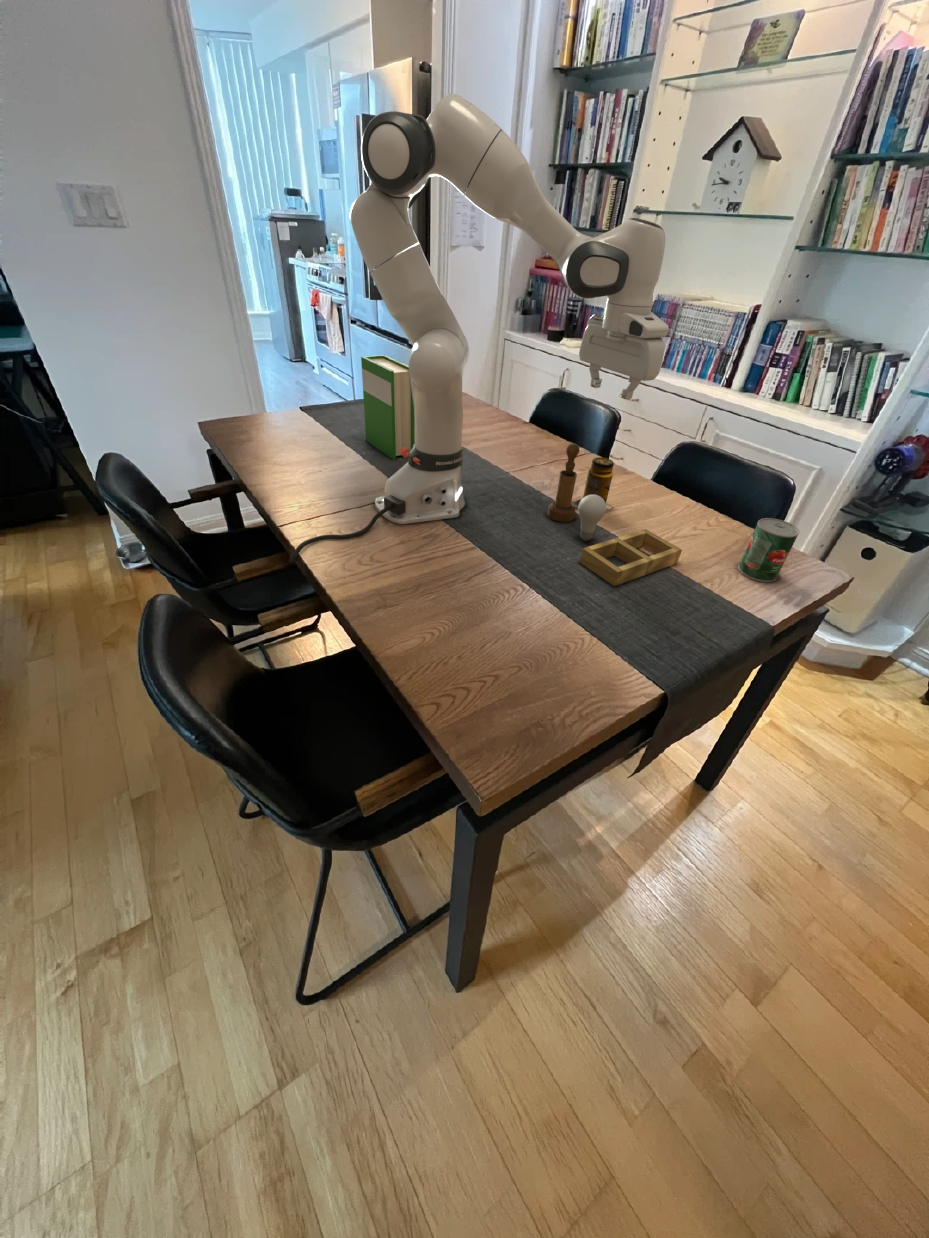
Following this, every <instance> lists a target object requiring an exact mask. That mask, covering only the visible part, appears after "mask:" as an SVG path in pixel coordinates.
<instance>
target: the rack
mask: <svg viewBox="0 0 929 1238" xmlns="http://www.w3.org/2000/svg"><path fill="white" fill-rule="evenodd" d="M641 547H643V548H644V549H646V550H648V551H649V552H651V553H652V554H653V555H652V554H651V555H649V556H648V555H647V554H645V553H643V552H642V551H640V550H639V549H638V548H641ZM682 551H683V549H682V548H680V547H678V546H676V545H674V544H673V543H671V542H670V541H668V540H666V539H664V538H662V537H660V536H659V535H658V534H655V533H654V532H652V531H651V530H648V529H647V528H645V529H642V530H638V531H635V532H632V533H628V534H625V535H622V536H619V537H615V538H612V539H609V540H605V541H602V542H598V543H595V544H593V545H589V546H586V547H583V548H582V550H581V554H580V555H581V556H580V558H579V563H580V564H581V565H583V566H584V567H585V568H587V569H588V570H590V572H593V573H594V574H596V575H597V576H598V577H600V578H601V579H602V580H604V581H606V582H607V583H608V584H610V585H612V586H613V587H616V586H617V587H618V586H619V585H622V584H625V583H627V582H631V581H633V580H636V579H638V578H641V577H644V576H646V575H649V574H652V573H655V572H658V571H660V570H663V569H666V568H668V567H671V566H674V565H676V564H678V562H679V560H680V556H681V553H682ZM611 557H616V558H617V559H619V560H620V561H622V562H624V563H625V564H623V565H620V566H617V565H616V564H614V563H612V562H611V561H610V560H608V558H611Z"/></svg>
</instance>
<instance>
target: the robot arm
mask: <svg viewBox="0 0 929 1238" xmlns="http://www.w3.org/2000/svg"><path fill="white" fill-rule="evenodd" d="M360 155H361V162H362V165H363V168H364V171H365V173H366V175H367V177H368V179H369V180H370V181H369V186H368V188H366V190H365V191H363V192H362V193H361V194H359V195H358V196H357V198H355V200H354V202H353V203H352V205H351V208H350V212H349V219H350V220H349V221H350V225H351V228H352V232H353V234H354V237H355V240H356V243H357V246H358V248H359V251H360V254H361V256H362V259H363V261H364V263H365V265H366V267H367V270H368V272H369V273H370V277H371V278H372V280H373V283H374V284H375V286H376V288H377V290H378V293H379V294H380V296H381V299H382V300H383V303H384V305H385V307H386V309H387V310H388V312H389V314H390V316H391V317H392V318H393V319H394V321H396V322H397V324H398V326H399V327H400V328H401V330H402V331H403V332H404V334H405V335H406V337H407V338H408V340H409V342H410V344H411V345H412V347H411V349H410V353H409V358H408V366H409V372H410V379H411V389H412V397H413V404H414V417H415V444H414V445H413V447H412V450H411V451H409V450H408V449H407V448H406V447H402V448H401V449H400V451H399V452H400V454H401V455H400V456H402V457H403V458H405V459H406V458H407V462H406V463H405V464H404V465H402V466H401V467H400V468H399V469H397V471H396V472H394V474H392V475H391V476H390V477H389V478H388V479H387V480H386V482H385V483H384V484H385V485H384V490H383V495H381V496H378V497H376V498H375V500H374V507H375V509H376V511H377V513H376V514H374V516H373V517H372V518H371V520H370V521H369V523H368V524H367V525H366V526H365V527H363V528H362V529H360V530H358V531H354V532H351V533H347V534H346V533H345V534H322V535H318V536H316V537H315V536H314V537H311V538H308V539H306V540H304V541H302V542H301V543H299V544H298V545H297V547H295V550H294V551H293V552H292V554H291V556H290V557H289V560H288V563H294V562H295V561H296V559H297V557H298V556H299V554H300V553H301V551H302V550H303V549H304V548H305V547H306V546H309V545H311V544H314V543H317V542H320V541H321V542H322V541H326V540H349V539H353V538H356V537H360V536H362V535H364V534H365V533H367V532H368V531H370V530H371V529H372V528H373V527H374V525H375V524H376V522H377V521H378V519H379V518H380V517H383V518H384V519H386V520H388V521H390V522H391V523H394V524H398V525H408V524H416V523H424V522H431V521H440V520H447V519H454V518H458V517H459V516H460V512H461V510H462V509H463V508H464V507H465V505H466V501H465V497H464V493H463V484H462V466H463V460H464V459H463V458H464V447H463V446H462V442H463V423H464V408H463V378H464V377H463V375H464V371H465V367H466V366H467V363H468V360H469V355H470V347H469V344H468V343H469V342H468V340H467V338H466V336H465V334H464V332H463V330H462V328H461V326H460V323H459V322H458V320H457V318H456V315H455V314H454V313H453V312H454V311H453V310H452V308H451V307H450V305H449V303H448V302H447V300H446V298H445V296H444V294H443V292H442V291H441V289H440V286H439V285H438V282H437V280H436V278H435V275H434V274H433V271H432V269H431V266H430V265H429V262H428V260H427V257H426V256H425V253H424V250H423V248H422V245H421V243H420V242H419V239H418V237H417V235H416V232H415V230H414V227H413V225H412V223H411V219H410V215H409V209H411V208H412V206H413V205H414V204H415V202H416V201H417V200H418V198H419V197H420V196H421V195H422V194H423V193H424V191H425V190H426V188H427V187H428V185H429V183H430V181H431V178H432V177H441V178H443V179H444V180H446V181H448V182H449V183H450V184H451V185H452V186H454V188H456V189H457V190H458V191H459V192H460V193H461V194H462V195H463V196H464V197H465V198H466V199H467V200H468V201H469V202H471V203H472V204H473V205H474V206H475V207H477V208H478V209H480V210H481V211H482V212H484V213H485V214H487V215H488V216H490V217H491V218H493V219H495V220H497V221H500V222H502V223H506V224H509V225H511V226H513V227H515V228H518V229H519V230H521V231H522V232H523V233H525V234H526V235H528V236H529V237H530V238H531V239H532V240H533V241H534V242H535V243H536V244H537V245H538V246H539V247H540V248H541V249H543V251H544V252H545V253H547V255H549V256H550V257H551V259H552V260H553V261H554V262H555V264H556V265H557V268H558V269H559V272H560V275H561V278H562V280H563V283H564V284H565V286H566V287H567V288H568V290H570V292H571V293H572V294H573V295H575V296H576V297H578V298H581V299H583V300H584V299H585V300H591V299H596V298H601V297H607V299H606V304H605V310H604V314H600V313H594V314H592V315H591V316H590V317H589V318H588V320H587V324H586V328H585V330H584V332H583V335H582V339H581V342H580V346H579V352H578V356H579V360H580V361H581V362H585V363H588V364H589V373H590V378H591V380H590V381H591V382H590V387H591V388H593V389H599V388H601V386H602V382H603V378H601V377H600V370H601V369H605V370H608V371H612V372H614V373H618V374H621V375H624V376H627V377H629V378H628V383H629V384H628V386H627V387H626V388H623V389H622V392H621V394H620V397H621V399H624V400H626V401H628V400H631V399H632V398H633V396H634V391H635V390H636V389H637V388H638V387H639V385H640V384H641V382H647V381H653V380H655V379H656V378H657V377H658V376H659V374H660V372H661V367H662V364H663V360H664V355H665V349H666V346H665V345H666V344H665V340H664V339H663V338H666V337H667V335H668V333H669V325H668V324H667V323H666V322H664V321H663V320H662V319H661V318H659V317H658V316H657V315H656V314H655V313H654V312H653V311H652V309H653V304H654V303H653V302H654V290H655V288H656V286H657V283H658V282H659V278H660V275H661V270H662V266H663V261H664V255H665V249H666V232H665V229H663V228H662V227H661V225H659V224H657V223H656V222H653V221H650V220H646V219H643V218H639V217H629V218H627V219H626V220H625V221H624V222H622V223H621V224H619V225H618V226H616V227H614V228H613V229H611V230H608V231H606V232H603V233H601V234H599V235H596V236H594V235H591V234H587V233H583V232H581V231H579V230H577V228H575V227H573V225H572V224H571V223H570V222H569V221H568V220H567V219H566V218H565V217H564V216H563V215H562V214H561V213H560V212H559V211H558V210H557V209H556V208H555V207H554V206H553V205H552V204H551V203H550V202H549V200H547V198H546V197H545V195H544V194H543V192H542V190H541V188H540V187H539V185H538V182H537V180H536V177H535V176H534V175H535V174H534V173H533V169H532V167H531V165H530V163H529V162H528V160H527V158H526V157H525V155H524V154H523V153H522V151H521V149H520V148H519V147H518V145H517V144H516V143H515V142H514V141H513V139H512V138H511V137H510V135H509V134H508V133H506V132H505V130H503V129H502V127H501V126H500V125H498V123H496V122H495V121H494V120H493V119H492V118H491V117H490V116H489V115H488V114H486V113H485V112H484V111H482V109H480V108H478V106H476V105H474V104H473V103H472V102H470V101H469V100H468V99H466V98H464V97H463V96H460V95H459V94H455V93H451V94H447V95H445V96H444V97H442V98H441V99H440V100H439V101H438V102H437V103H436V104H435V106H433V108H432V109H431V112H430V114H429V115H428V117H427V118H425V116H423V115H421V114H415V113H409V112H408V113H407V112H402V111H397V110H396V111H395V110H391V111H384V112H381V113H378V114H377V115H375V116H374V117H373V118H372V119H370V121H369V122H368V124H367V125H366V126H365V129H364V131H363V134H362V137H361V143H360Z"/></svg>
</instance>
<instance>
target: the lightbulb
mask: <svg viewBox="0 0 929 1238" xmlns="http://www.w3.org/2000/svg"><path fill="white" fill-rule="evenodd" d="M580 500H581V501H580V503H579V506H578V508H577V512H578V516H579V518H580V535H579V536H580V537H579V538H580V539H581V540H583V541H585V542H586V541H590V540H591V539H592V536H593V534H594V532H595V531H596V527H597V525H598V523H600V522H601V520H602V519H603V518H604V516H605V514H606V512H607V510H606V505H607V502H606V503H605V501H604V500H603V499H602V498H601V497H600V496H598V495H588V496H586V497H584V498H583V497H582V498H581V499H580Z"/></svg>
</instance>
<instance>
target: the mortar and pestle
mask: <svg viewBox="0 0 929 1238" xmlns="http://www.w3.org/2000/svg"><path fill="white" fill-rule="evenodd" d="M565 452H566V456H567V461H566V462H565V464H564V465H565V469H563V470H561V471H560V472H559V478H558V485H557V488H556V489H557V490H556V495H555V500H554V501H553V502H551V503H550V504H548V509H547V514H546V515H547V517H548V518H550V519H551V520H553V521H557V522H561V523H568V522H572V521H573V520H574V519H575V515H576V507H575V506H573V505H572V504H571V502H573V497H574V491H575V486H576V480H577V476H578V473H577V472H576V471H574V470H575V467H576V463H575V459H576V458H577V456H578V455H579V454H580V446H579V444H577V443H574V442H573V443H569V444H568V445H567V446H566V448H565Z"/></svg>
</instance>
